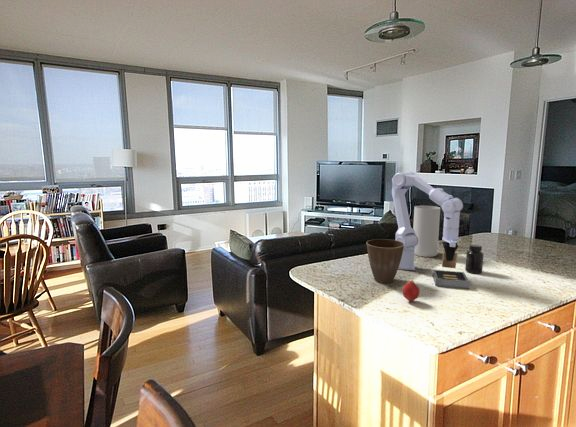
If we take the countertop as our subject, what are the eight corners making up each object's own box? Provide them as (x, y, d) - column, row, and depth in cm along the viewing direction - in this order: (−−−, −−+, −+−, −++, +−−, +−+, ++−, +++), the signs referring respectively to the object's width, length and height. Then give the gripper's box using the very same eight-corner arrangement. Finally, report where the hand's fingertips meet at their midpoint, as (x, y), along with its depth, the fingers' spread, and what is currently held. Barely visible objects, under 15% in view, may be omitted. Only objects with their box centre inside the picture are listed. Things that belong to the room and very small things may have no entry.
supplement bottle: (484, 274, 155) (486, 247, 153) (467, 273, 156) (469, 247, 154) (479, 269, 161) (481, 244, 159) (463, 268, 163) (465, 243, 161)
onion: (399, 298, 129) (400, 277, 128) (414, 298, 129) (415, 277, 128) (405, 305, 123) (406, 283, 122) (421, 304, 124) (423, 282, 122)
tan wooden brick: (442, 267, 148) (443, 253, 147) (441, 266, 149) (443, 252, 148) (455, 268, 146) (456, 254, 145) (454, 267, 148) (456, 253, 147)
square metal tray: (435, 286, 141) (435, 278, 141) (432, 276, 153) (433, 269, 152) (468, 289, 138) (469, 281, 137) (463, 279, 149) (463, 272, 149)
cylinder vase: (439, 253, 190) (442, 206, 186) (434, 258, 179) (437, 209, 175) (415, 249, 196) (417, 205, 192) (409, 255, 186) (411, 207, 182)
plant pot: (401, 288, 139) (403, 248, 136) (362, 284, 144) (364, 245, 141) (403, 276, 152) (404, 240, 150) (368, 273, 158) (369, 237, 155)
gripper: (465, 231, 137) (462, 265, 139) (458, 225, 151) (456, 256, 153) (445, 230, 139) (443, 264, 141) (440, 224, 153) (439, 254, 155)
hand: (448, 260), depth 147 cm, fingers closed on tan wooden brick, 1 cm apart
